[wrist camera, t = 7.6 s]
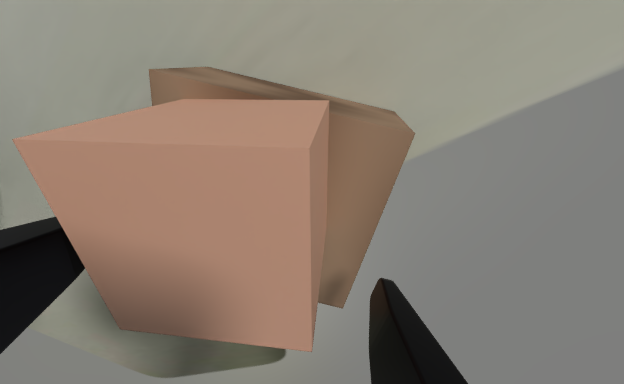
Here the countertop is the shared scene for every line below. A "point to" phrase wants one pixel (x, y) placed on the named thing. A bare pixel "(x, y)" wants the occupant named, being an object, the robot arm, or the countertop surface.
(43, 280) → the robot arm
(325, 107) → the terracotta cube
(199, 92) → the brown wooden square block
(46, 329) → the countertop surface
